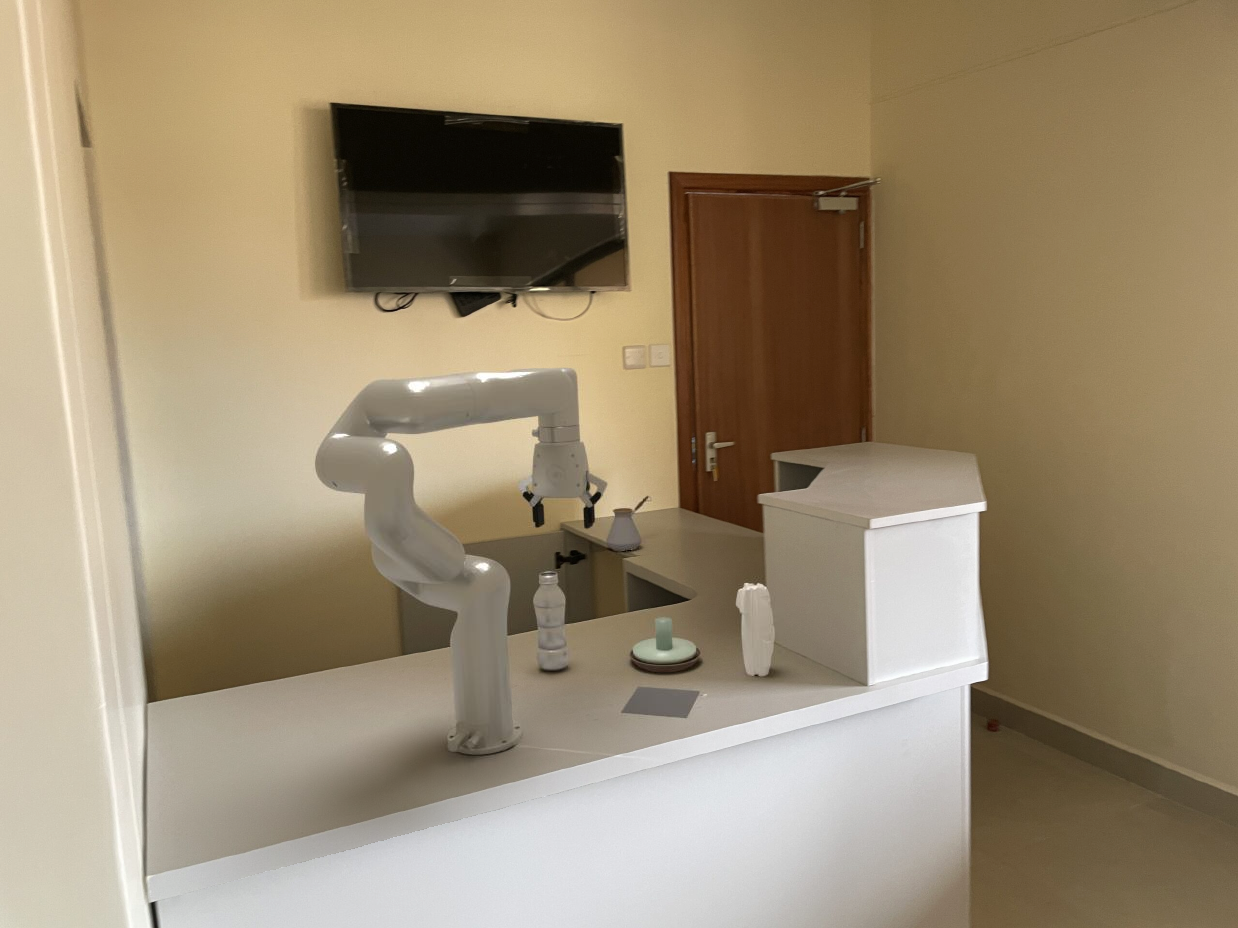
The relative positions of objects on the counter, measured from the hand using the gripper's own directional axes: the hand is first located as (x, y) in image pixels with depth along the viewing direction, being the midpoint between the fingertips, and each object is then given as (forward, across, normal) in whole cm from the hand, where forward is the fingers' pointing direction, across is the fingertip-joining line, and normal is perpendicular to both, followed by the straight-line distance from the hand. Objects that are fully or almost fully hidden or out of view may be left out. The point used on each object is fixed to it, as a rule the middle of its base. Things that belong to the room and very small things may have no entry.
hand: (564, 526), depth 164 cm
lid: (+30, +14, +18) cm, 38 cm away
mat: (+32, +18, -2) cm, 37 cm away
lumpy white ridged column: (+32, +33, +15) cm, 49 cm away
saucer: (+33, +14, +18) cm, 40 cm away
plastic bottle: (+32, -8, +11) cm, 35 cm away
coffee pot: (+32, -21, +119) cm, 125 cm away
